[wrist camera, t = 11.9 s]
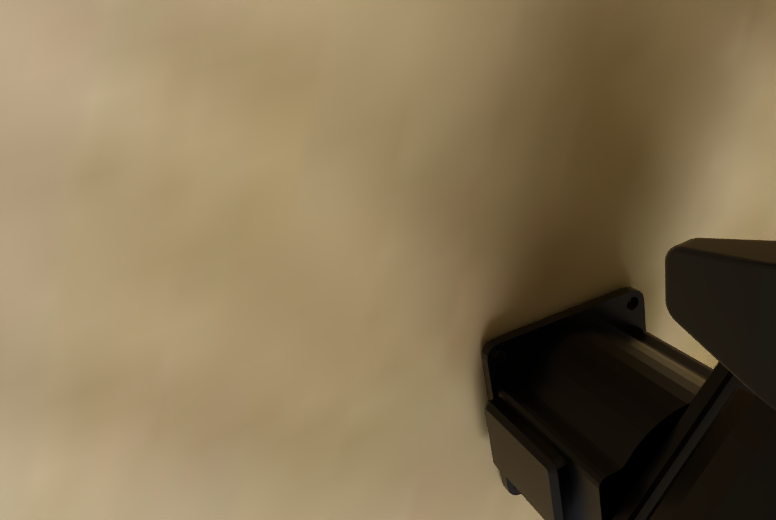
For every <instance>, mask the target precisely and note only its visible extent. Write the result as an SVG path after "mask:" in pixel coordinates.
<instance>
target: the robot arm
mask: <svg viewBox="0 0 776 520" xmlns="http://www.w3.org/2000/svg"><path fill="white" fill-rule="evenodd" d="M665 294H666V306H667V309H668V311H669V313H670V315H671V316H672V318H673V319H674V320H675V321H676V322H677V323H678V324H679V325H680V326H681V327H683V328H684V329H685V330H686V331H687V332H688V333H689V334H690V335H691V336H692V337H693V338H694V339H695V340H697V341H698V342H699V343H700V344H701V345H702V346H703V347H704V348H705V349H706V350H707V351H708V352H709V353H711V354H712V355H713V356H714V357H715V358H716V359H717V360H718V361H719V362H718V363H717V365H716V366H715V368H714V369H712V368H710V367H708V366H707V365H705V364H703V363H701V362H700V361H698V360H696V359H694V358H692V357H691V356H689V355H687V354H685V353H684V352H682V351H680V350H678V349H677V348H675V347H673V346H671V345H669V344H668V343H666V342H664V341H662V340H661V339H659V338H657V337H655V336H654V335H652V334H650V333H648V332H646V325H645V308H644V297H643V294H642V293H641V292H640V291H638V290H636V289H634V288H632V287H624V288H621V289H619V290H616V291H614V292H611V293H609V294H606V295H604V296H601V297H598V298H596V299H593V300H591V301H588V302H586V303H583V304H581V305H578V306H576V307H573V308H570V309H568V310H565V311H563V312H560V313H558V314H555V315H553V316H550V317H548V318H545V319H542V320H540V321H537V322H535V323H532V324H530V325H527V326H525V327H522V328H519V329H517V330H514V331H512V332H509V333H507V334H504V335H502V336H499V337H497V338H494V339H492V340H490V341H488V342H487V343H486V345H485V346H484V347H483V350H482V362H483V368H484V375H485V381H486V387H487V393H488V399H489V401H487V403H486V407H485V414H486V420H487V426H488V432H489V438H490V444H491V450H492V456H493V462H494V464H495V465H496V466H497V468H498V469H499V470H500V472H501V478H502V483H503V485H504V487H505V488H506V489H507V490H508V491H509V492H510V493H511V494H512V495H519V494H522V495H523V496H524V497H525V498H526V500H527V501H528V502H529V503H530V504H531V505H532V506H533V507H534V508H535V510H536V511H537V512H538V513H539V514H540V515H541V516H542V517H543V518H544V519H545V520H776V241H765V240H740V239H715V238H694V239H690V240H688V241H686V242H683V243H681V244H679V245H676V246H674V247H672V248H671V249H670V250H669V251H668V252H667V255H666V258H665ZM630 298H631V301H630V302H629V304H627V302H628V300H629V299H630ZM498 350H501V352H500V354H499V356H498V357H496V358H494V355H495V353H496V352H497V351H498Z"/></svg>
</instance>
